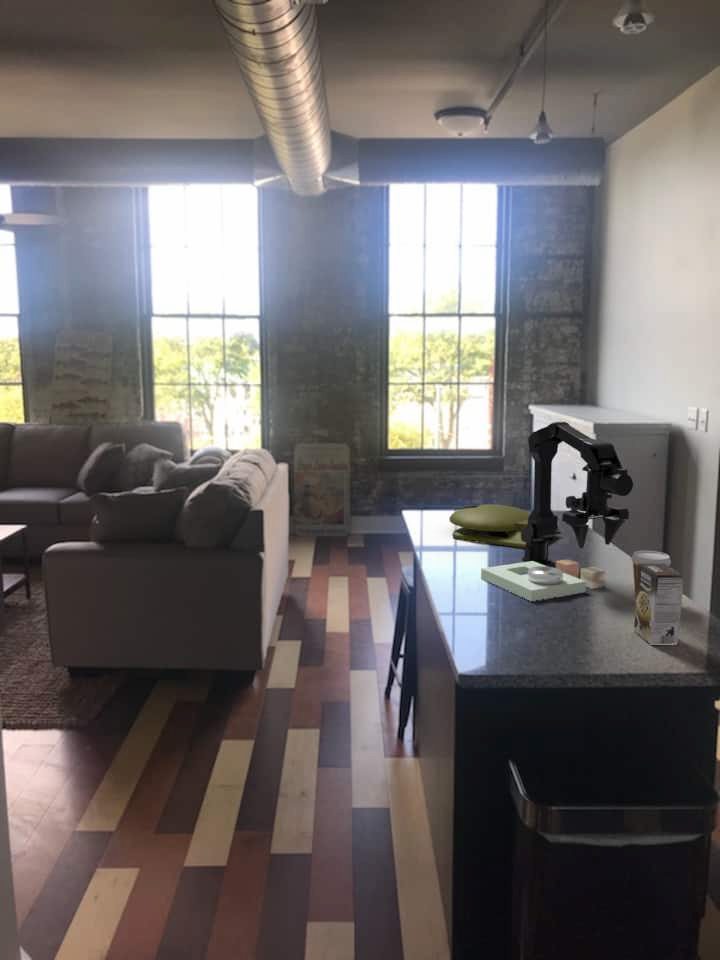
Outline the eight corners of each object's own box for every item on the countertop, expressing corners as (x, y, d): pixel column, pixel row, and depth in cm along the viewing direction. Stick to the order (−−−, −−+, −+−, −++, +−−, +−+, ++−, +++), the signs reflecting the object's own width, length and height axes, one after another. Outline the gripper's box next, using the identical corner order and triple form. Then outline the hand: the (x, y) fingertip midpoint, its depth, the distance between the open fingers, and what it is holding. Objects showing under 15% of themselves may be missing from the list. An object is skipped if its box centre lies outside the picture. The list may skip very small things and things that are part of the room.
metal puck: (547, 573, 207) (548, 564, 207) (569, 582, 199) (570, 573, 199) (520, 577, 204) (521, 568, 203) (542, 587, 196) (542, 577, 195)
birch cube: (592, 582, 210) (593, 566, 210) (604, 586, 206) (605, 570, 206) (579, 584, 208) (580, 568, 208) (591, 589, 204) (592, 572, 204)
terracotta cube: (567, 574, 218) (568, 559, 217) (578, 578, 214) (579, 563, 213) (555, 576, 216) (555, 561, 215) (566, 580, 212) (566, 565, 211)
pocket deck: (532, 570, 221) (532, 560, 220) (585, 592, 201) (586, 581, 201) (481, 578, 213) (481, 568, 212) (531, 601, 193) (531, 590, 193)
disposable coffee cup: (667, 596, 198) (670, 552, 196) (669, 608, 189) (672, 561, 187) (628, 592, 201) (631, 548, 199) (628, 604, 192) (631, 558, 190)
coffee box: (632, 631, 173) (636, 562, 170) (659, 630, 174) (664, 562, 171) (650, 646, 164) (655, 574, 161) (679, 645, 165) (684, 574, 162)
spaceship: (561, 532, 270) (562, 505, 268) (531, 551, 244) (533, 521, 242) (470, 520, 288) (471, 495, 286) (434, 537, 262) (434, 509, 261)
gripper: (602, 482, 214) (599, 536, 217) (549, 487, 206) (547, 543, 209) (632, 488, 204) (628, 545, 207) (578, 494, 196) (575, 552, 199)
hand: (594, 546), depth 205 cm, fingers open, 9 cm apart
